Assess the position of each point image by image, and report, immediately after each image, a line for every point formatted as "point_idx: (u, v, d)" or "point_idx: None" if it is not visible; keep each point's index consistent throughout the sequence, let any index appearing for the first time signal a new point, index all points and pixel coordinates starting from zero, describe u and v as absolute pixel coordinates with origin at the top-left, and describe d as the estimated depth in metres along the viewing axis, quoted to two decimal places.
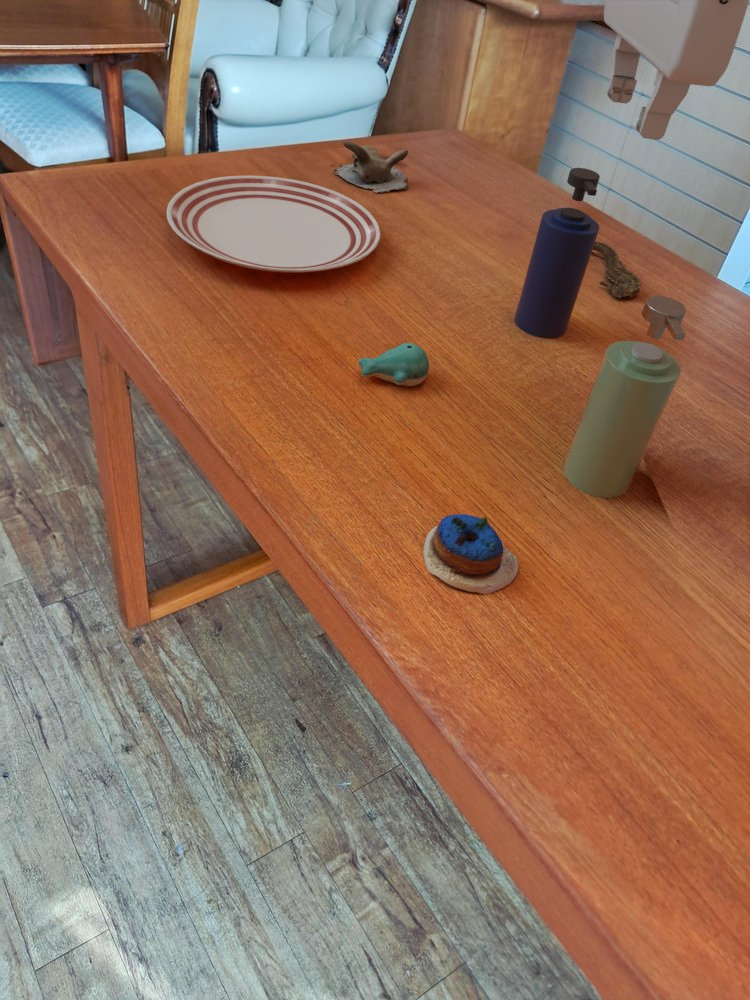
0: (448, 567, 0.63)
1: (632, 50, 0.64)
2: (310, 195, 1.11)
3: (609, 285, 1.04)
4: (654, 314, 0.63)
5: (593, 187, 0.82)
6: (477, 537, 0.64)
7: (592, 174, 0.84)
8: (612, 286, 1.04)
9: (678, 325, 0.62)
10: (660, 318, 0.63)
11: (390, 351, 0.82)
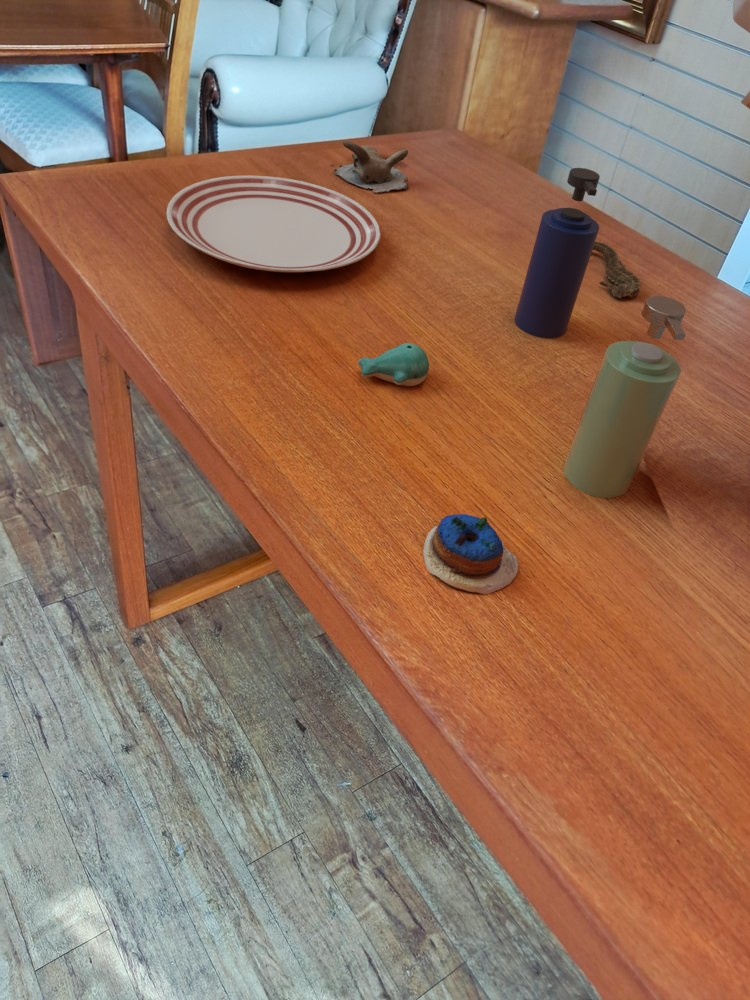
0: (448, 567, 0.63)
1: None
2: (310, 195, 1.11)
3: (609, 285, 1.04)
4: (654, 314, 0.63)
5: (593, 187, 0.82)
6: (477, 537, 0.64)
7: (592, 174, 0.84)
8: (612, 286, 1.04)
9: (678, 325, 0.62)
10: (660, 318, 0.63)
11: (390, 351, 0.82)
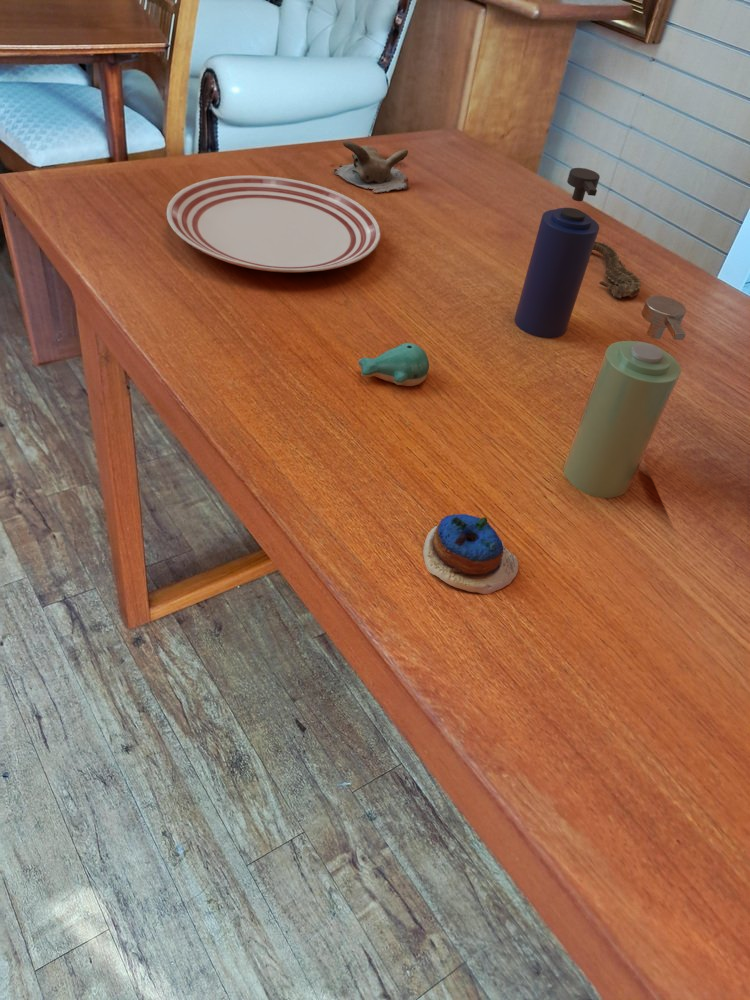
0: (448, 567, 0.63)
1: None
2: (310, 195, 1.11)
3: (609, 285, 1.04)
4: (654, 314, 0.63)
5: (593, 187, 0.82)
6: (477, 537, 0.64)
7: (592, 174, 0.84)
8: (612, 286, 1.04)
9: (678, 325, 0.62)
10: (660, 318, 0.63)
11: (390, 351, 0.82)
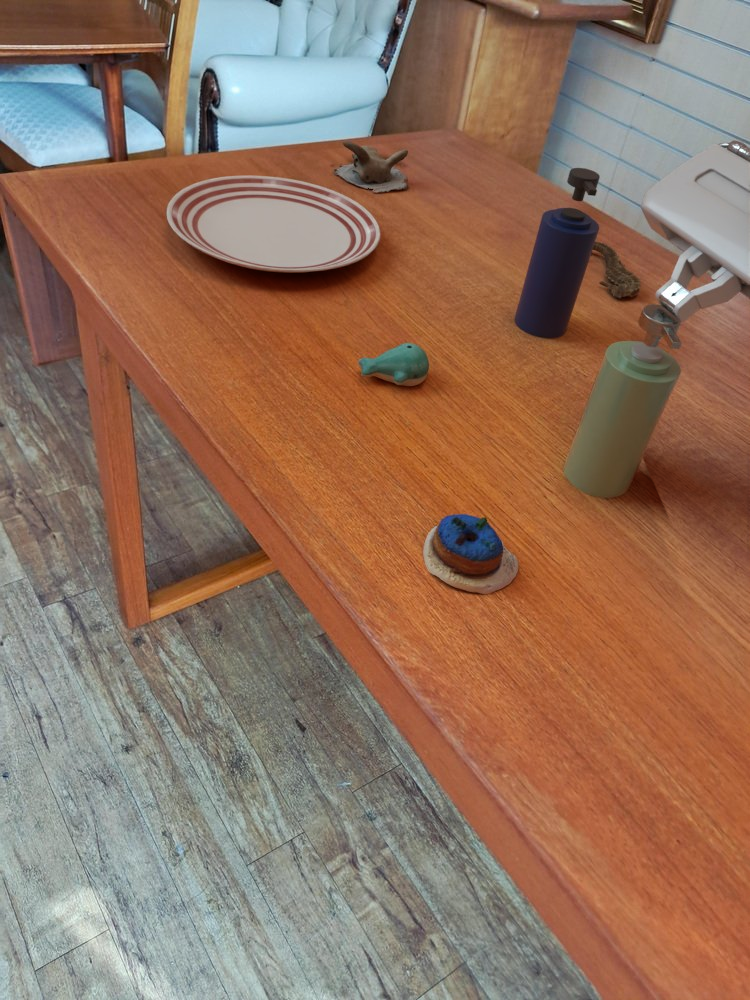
0: (448, 567, 0.63)
1: None
2: (310, 195, 1.11)
3: (609, 285, 1.04)
4: (650, 323, 0.63)
5: (593, 187, 0.82)
6: (477, 537, 0.64)
7: (592, 174, 0.84)
8: (612, 286, 1.04)
9: (674, 334, 0.62)
10: (656, 327, 0.63)
11: (390, 351, 0.82)
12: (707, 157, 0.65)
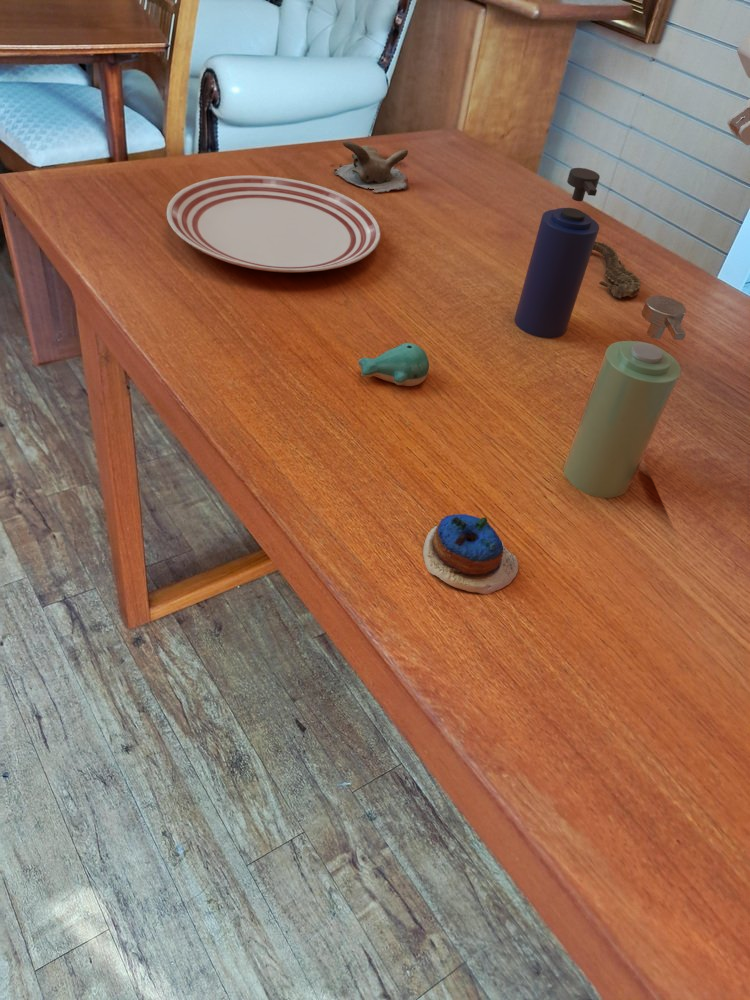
0: (448, 567, 0.63)
1: None
2: (310, 195, 1.11)
3: (609, 285, 1.04)
4: (654, 314, 0.63)
5: (593, 187, 0.82)
6: (477, 537, 0.64)
7: (592, 174, 0.84)
8: (612, 286, 1.04)
9: (678, 325, 0.62)
10: (660, 318, 0.63)
11: (390, 351, 0.82)
12: None
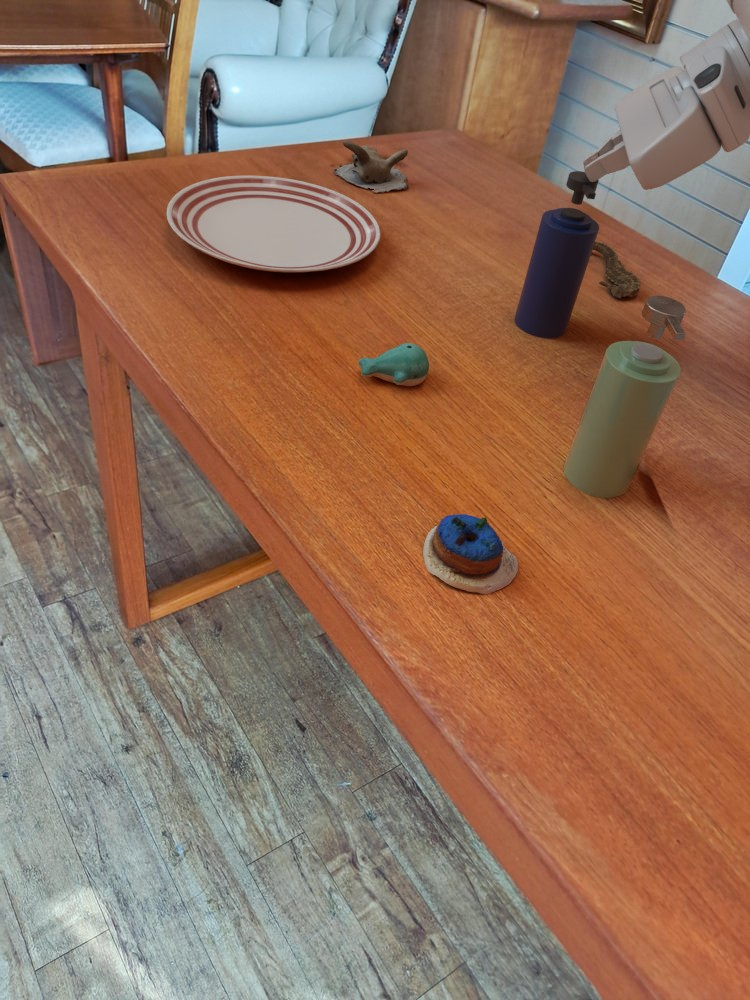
0: (448, 567, 0.63)
1: None
2: (310, 195, 1.11)
3: (609, 285, 1.04)
4: (654, 314, 0.63)
5: (592, 190, 0.82)
6: (477, 537, 0.64)
7: None
8: (612, 286, 1.04)
9: (678, 325, 0.62)
10: (660, 318, 0.63)
11: (390, 351, 0.82)
12: (666, 71, 0.83)
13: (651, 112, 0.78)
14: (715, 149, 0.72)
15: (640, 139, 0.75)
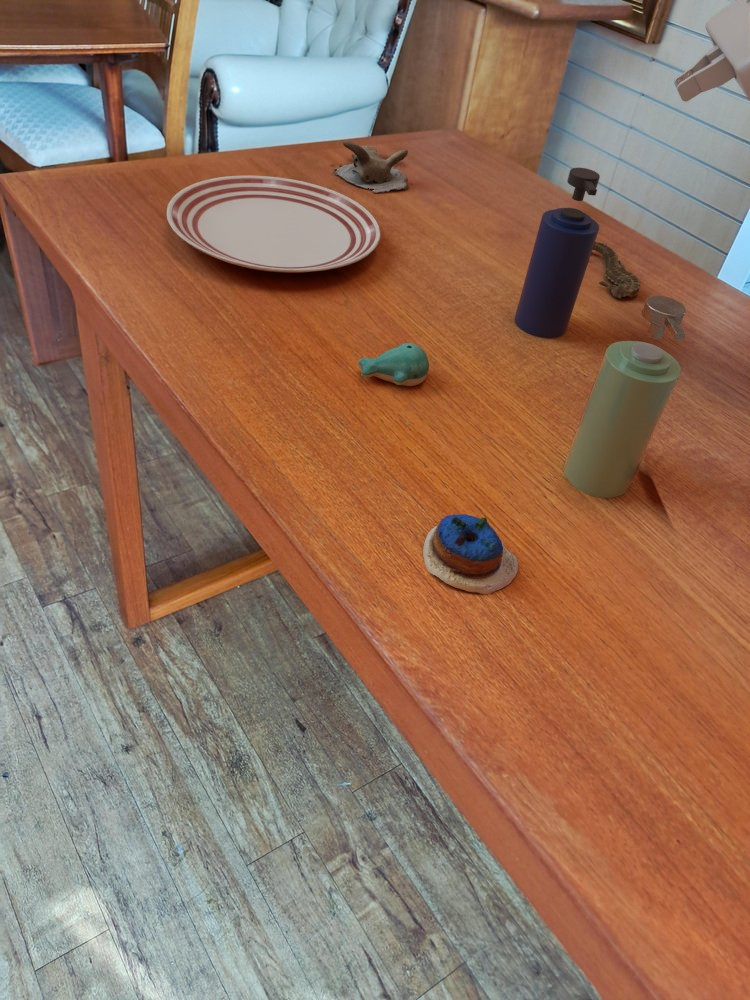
0: (448, 567, 0.63)
1: None
2: (310, 195, 1.11)
3: (609, 285, 1.04)
4: (654, 314, 0.63)
5: (593, 187, 0.82)
6: (477, 537, 0.64)
7: (592, 174, 0.84)
8: (612, 286, 1.04)
9: (678, 325, 0.62)
10: (660, 318, 0.63)
11: (390, 351, 0.82)
12: None
13: None
14: None
15: (746, 46, 0.69)
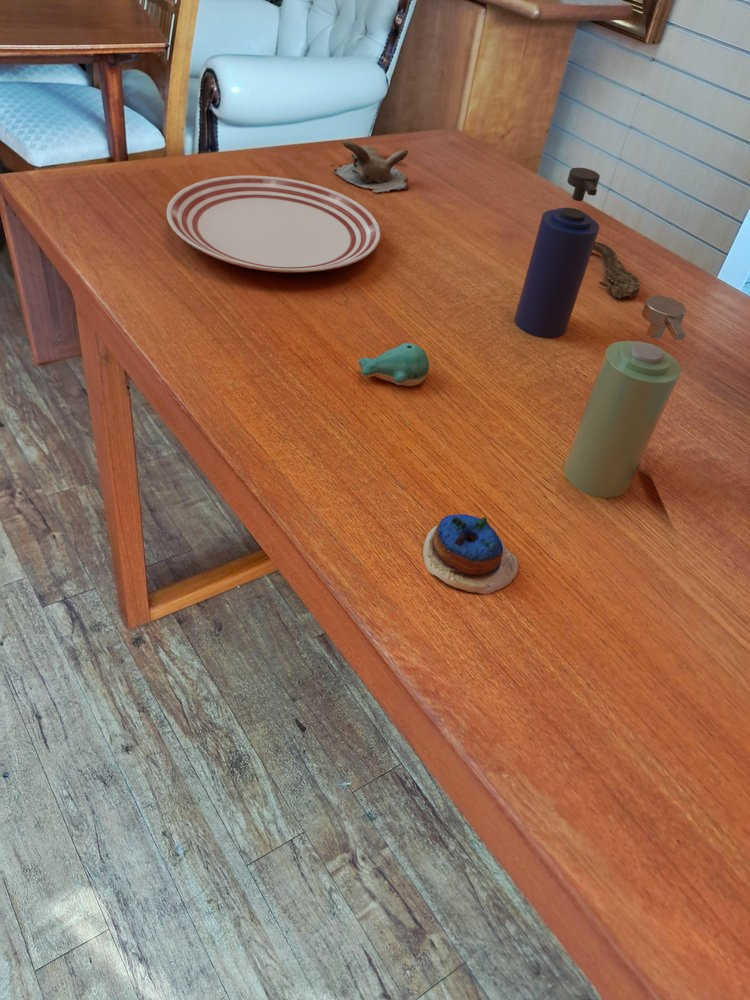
0: (448, 567, 0.63)
1: None
2: (310, 195, 1.11)
3: (609, 285, 1.04)
4: (654, 314, 0.63)
5: (593, 187, 0.82)
6: (477, 537, 0.64)
7: (592, 174, 0.84)
8: (612, 286, 1.04)
9: (678, 325, 0.62)
10: (660, 318, 0.63)
11: (390, 351, 0.82)
12: None
13: None
14: None
15: None
